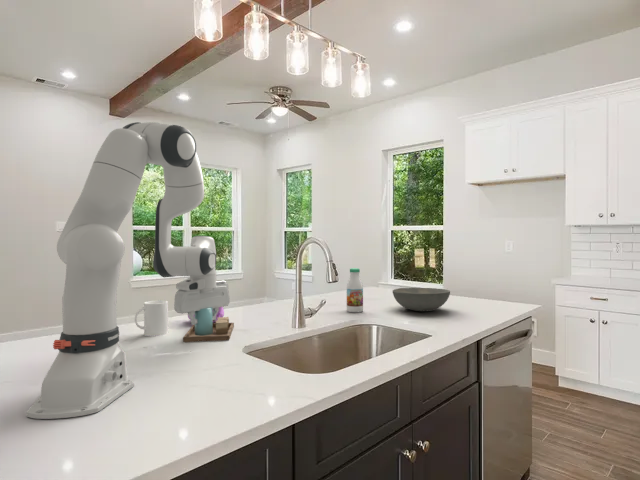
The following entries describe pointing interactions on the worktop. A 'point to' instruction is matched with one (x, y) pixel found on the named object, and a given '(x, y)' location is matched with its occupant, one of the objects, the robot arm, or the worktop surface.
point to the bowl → (421, 298)
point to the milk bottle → (354, 292)
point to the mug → (154, 318)
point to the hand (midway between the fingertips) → (203, 322)
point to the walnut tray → (192, 337)
